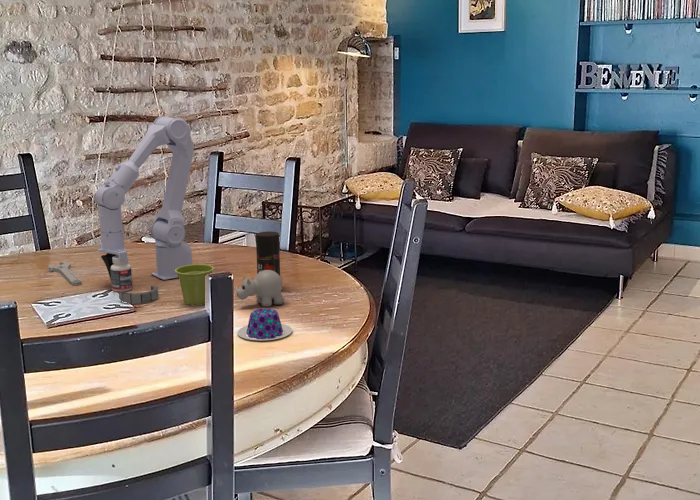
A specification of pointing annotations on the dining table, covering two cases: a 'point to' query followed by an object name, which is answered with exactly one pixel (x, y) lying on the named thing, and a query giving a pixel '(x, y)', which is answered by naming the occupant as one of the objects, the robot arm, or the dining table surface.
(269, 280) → the toy rhinoceros
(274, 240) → the deodorant
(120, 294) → the collar
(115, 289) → the pill bottle
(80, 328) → the dining table surface
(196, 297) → the plant pot
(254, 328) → the pudding
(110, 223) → the robot arm
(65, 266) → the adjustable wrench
